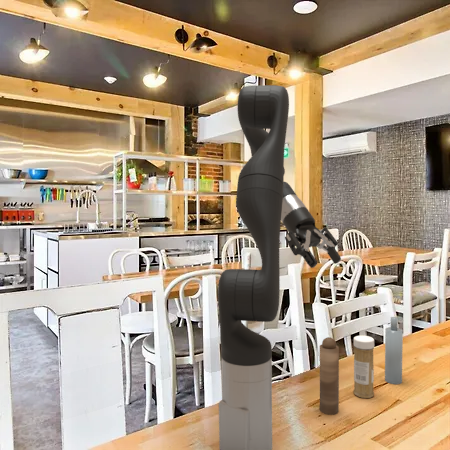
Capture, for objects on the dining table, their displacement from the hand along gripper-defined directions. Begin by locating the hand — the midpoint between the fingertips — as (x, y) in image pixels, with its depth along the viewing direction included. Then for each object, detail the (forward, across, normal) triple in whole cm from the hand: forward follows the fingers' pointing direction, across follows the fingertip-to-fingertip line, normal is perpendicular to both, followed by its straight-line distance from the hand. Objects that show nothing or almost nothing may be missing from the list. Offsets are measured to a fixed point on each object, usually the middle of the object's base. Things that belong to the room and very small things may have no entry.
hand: (326, 263), depth 107 cm
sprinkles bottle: (+29, 0, +12) cm, 32 cm away
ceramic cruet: (+29, +12, +13) cm, 34 cm away
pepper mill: (+29, -12, +12) cm, 34 cm away
